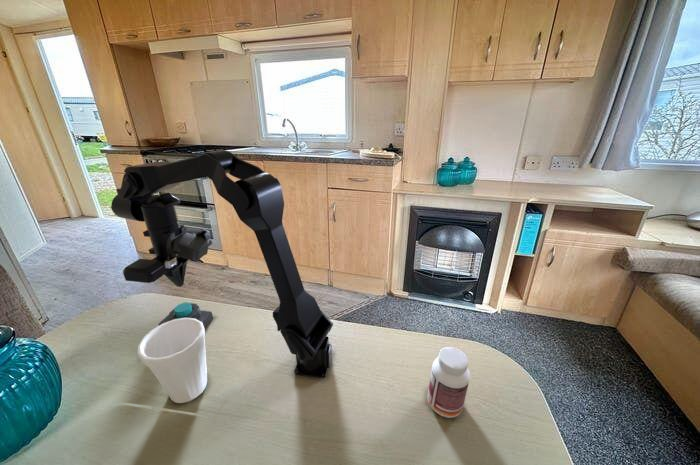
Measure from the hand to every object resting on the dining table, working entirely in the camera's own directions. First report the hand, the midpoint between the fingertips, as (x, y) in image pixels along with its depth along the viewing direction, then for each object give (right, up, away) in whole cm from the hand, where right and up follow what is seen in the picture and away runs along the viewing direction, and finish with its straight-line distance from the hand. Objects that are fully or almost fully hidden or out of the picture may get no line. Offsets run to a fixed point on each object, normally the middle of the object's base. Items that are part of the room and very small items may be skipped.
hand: (180, 285), depth 65 cm
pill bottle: (+57, -19, -14) cm, 62 cm away
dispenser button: (-1, -7, +3) cm, 8 cm away
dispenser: (-1, -10, +4) cm, 11 cm away
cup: (+9, -18, -12) cm, 23 cm away
